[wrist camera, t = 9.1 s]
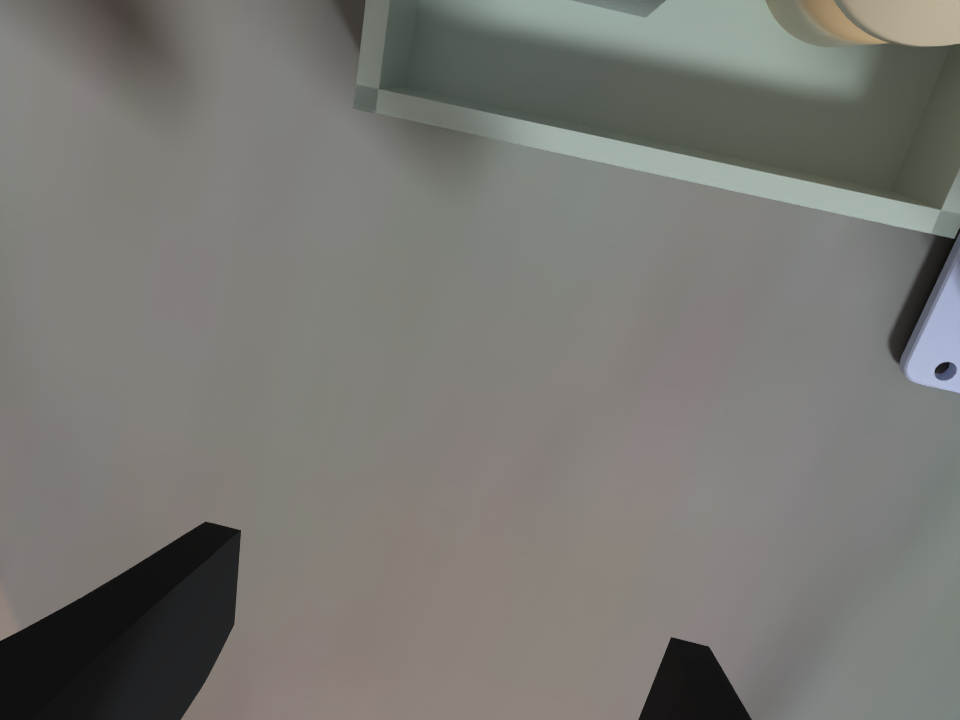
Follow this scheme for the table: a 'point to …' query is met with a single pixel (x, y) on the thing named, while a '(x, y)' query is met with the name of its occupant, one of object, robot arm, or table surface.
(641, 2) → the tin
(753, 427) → the table surface
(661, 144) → the crate
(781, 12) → the jar
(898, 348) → the table surface
